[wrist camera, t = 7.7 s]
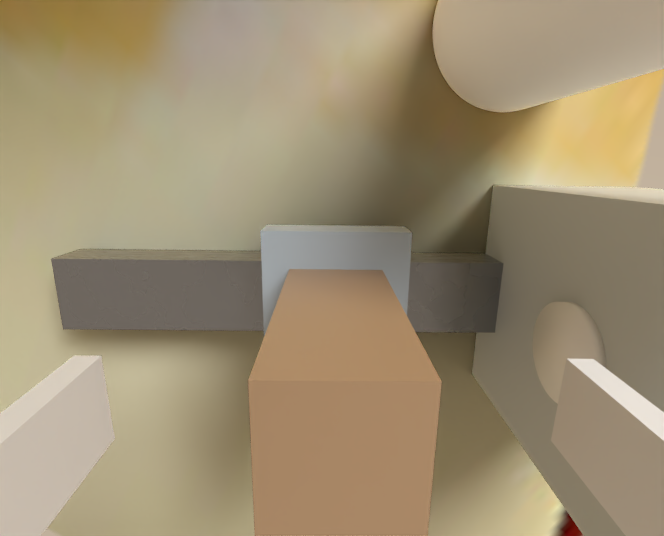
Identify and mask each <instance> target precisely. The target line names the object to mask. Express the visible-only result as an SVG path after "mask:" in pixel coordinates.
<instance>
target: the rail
mask: <svg viewBox="0 0 664 536" xmlns="http://www.w3.org/2000/svg"><path fill="white" fill-rule="evenodd" d="M51 260H52V266H53V272H54V278H55V284H56V289H57V295H58V301H59V307H60V313H61V319H62V325H63V329H107V330H231V331H264V324H263V292H262V261H261V251H217V250H126V249H79V250H76V251H73V252H70V253H67V254H64V255H61V256H58V257H55V258H52V259H51ZM503 264H504V263H502V262H500V261H498V260H496V259H495V258H493V257H491V256H489V255H487V254H486V253H411V260H410V275H409V291H408V306H407V317H408V319H409V321H410V323H411V325H412V327H413V328H414V330H415V332H477V333H495V327H496V319H497V312H498V304H499V296H500V288H501V280H502V272H503Z"/></svg>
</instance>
